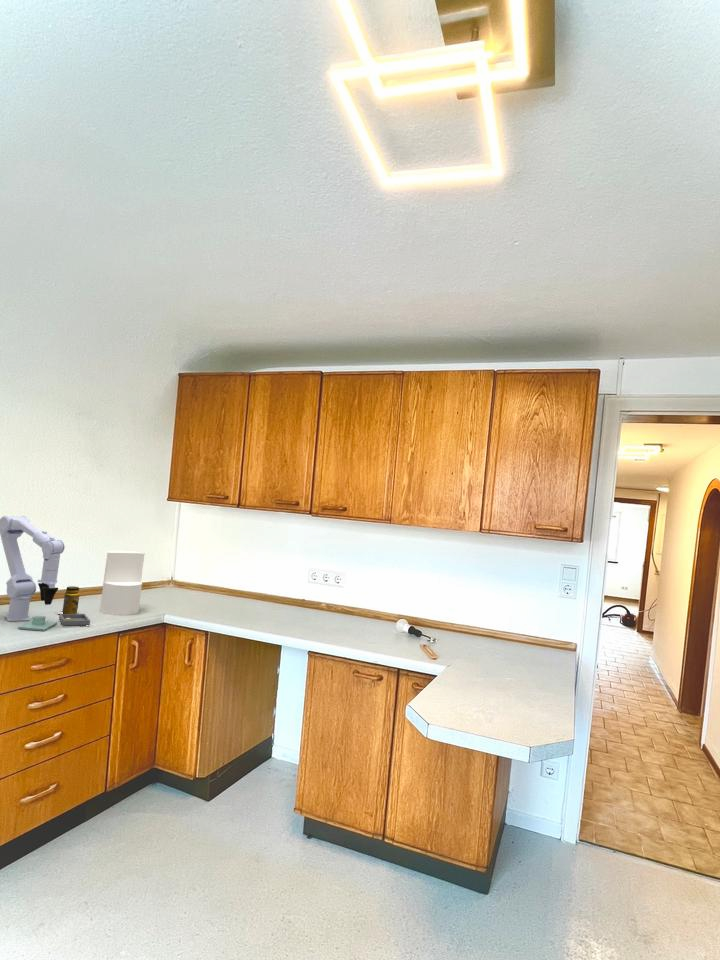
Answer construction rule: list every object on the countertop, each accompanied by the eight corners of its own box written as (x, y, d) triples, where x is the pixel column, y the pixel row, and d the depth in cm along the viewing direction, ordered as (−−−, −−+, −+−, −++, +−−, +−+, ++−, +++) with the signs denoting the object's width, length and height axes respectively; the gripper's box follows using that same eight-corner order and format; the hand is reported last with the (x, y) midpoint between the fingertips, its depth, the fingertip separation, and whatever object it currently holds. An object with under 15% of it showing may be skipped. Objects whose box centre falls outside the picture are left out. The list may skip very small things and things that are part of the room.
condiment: (79, 614, 254) (83, 588, 254) (59, 616, 248) (63, 589, 248) (74, 611, 259) (78, 585, 260) (54, 612, 253) (58, 585, 254)
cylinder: (94, 607, 270) (102, 550, 271) (130, 606, 282) (137, 550, 283) (107, 616, 257) (115, 555, 258) (144, 614, 269) (151, 555, 270)
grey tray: (58, 620, 241) (59, 614, 241) (84, 619, 247) (85, 613, 247) (63, 627, 231) (63, 621, 231) (89, 626, 237) (90, 620, 237)
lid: (31, 623, 233) (33, 612, 233) (56, 625, 234) (58, 614, 234) (17, 630, 221) (18, 619, 221) (43, 632, 222) (45, 621, 222)
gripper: (36, 566, 234) (31, 599, 234) (43, 572, 223) (38, 606, 223) (54, 566, 239) (50, 598, 238) (62, 572, 228) (57, 606, 227)
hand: (45, 602), depth 231 cm, fingers open, 7 cm apart
